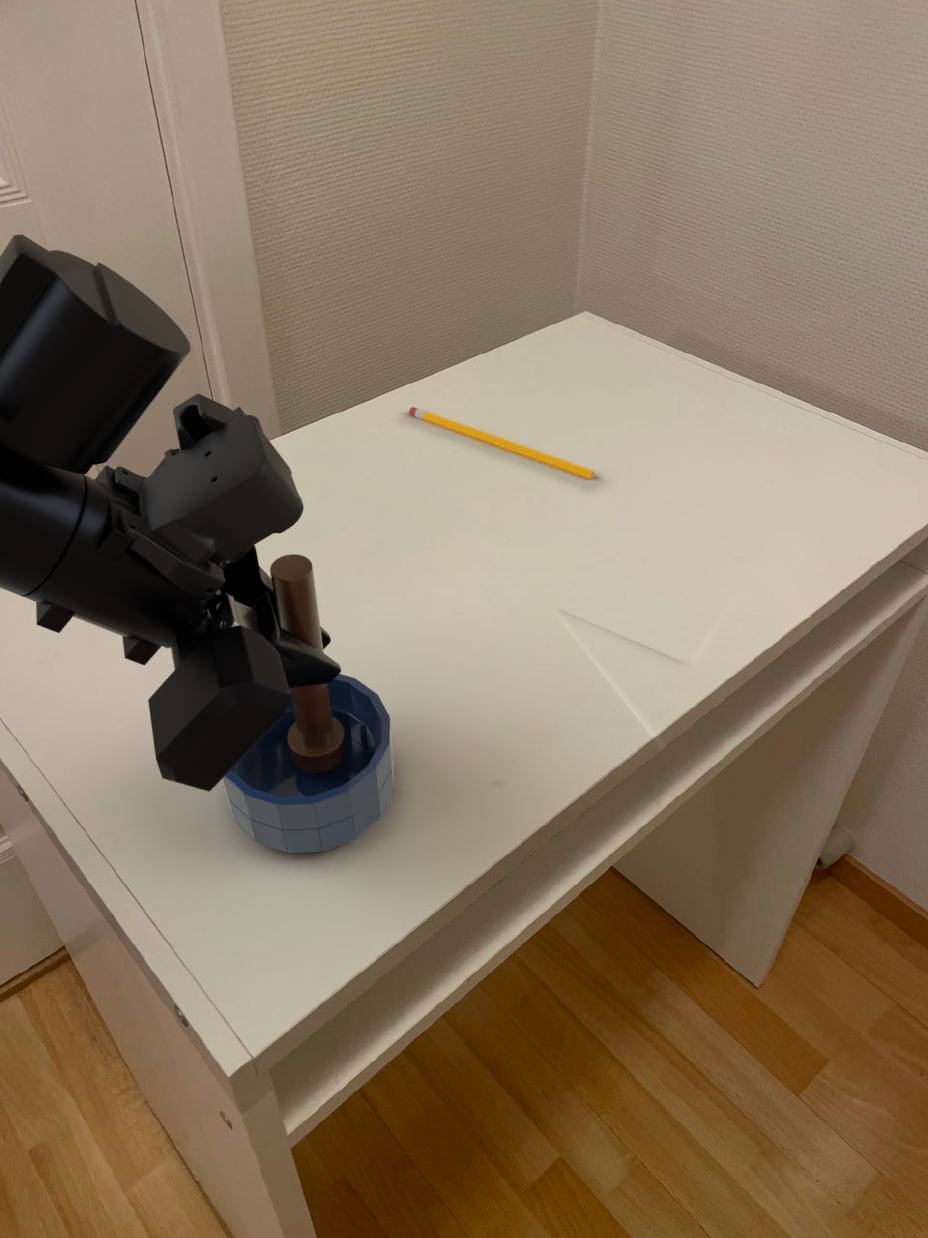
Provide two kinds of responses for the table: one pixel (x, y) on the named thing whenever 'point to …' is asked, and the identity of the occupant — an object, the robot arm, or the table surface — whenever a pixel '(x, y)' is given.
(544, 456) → the pencil
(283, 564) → the muddler
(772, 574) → the table surface
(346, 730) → the bowl
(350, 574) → the table surface
